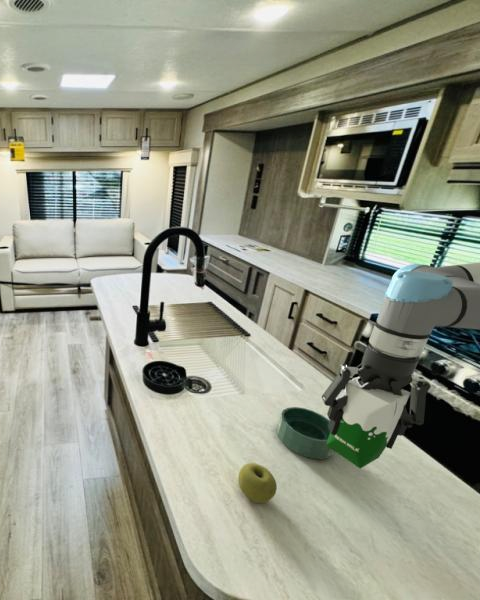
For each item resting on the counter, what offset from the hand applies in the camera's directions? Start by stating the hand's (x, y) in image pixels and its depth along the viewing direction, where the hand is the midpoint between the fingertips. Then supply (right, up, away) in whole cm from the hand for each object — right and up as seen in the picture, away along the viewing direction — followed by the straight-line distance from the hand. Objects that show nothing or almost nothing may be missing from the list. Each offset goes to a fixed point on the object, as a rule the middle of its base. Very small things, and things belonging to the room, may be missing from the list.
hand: (358, 436), depth 70 cm
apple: (-21, -16, +4) cm, 27 cm away
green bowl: (+1, -9, +18) cm, 20 cm away
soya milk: (0, -4, +2) cm, 5 cm away
